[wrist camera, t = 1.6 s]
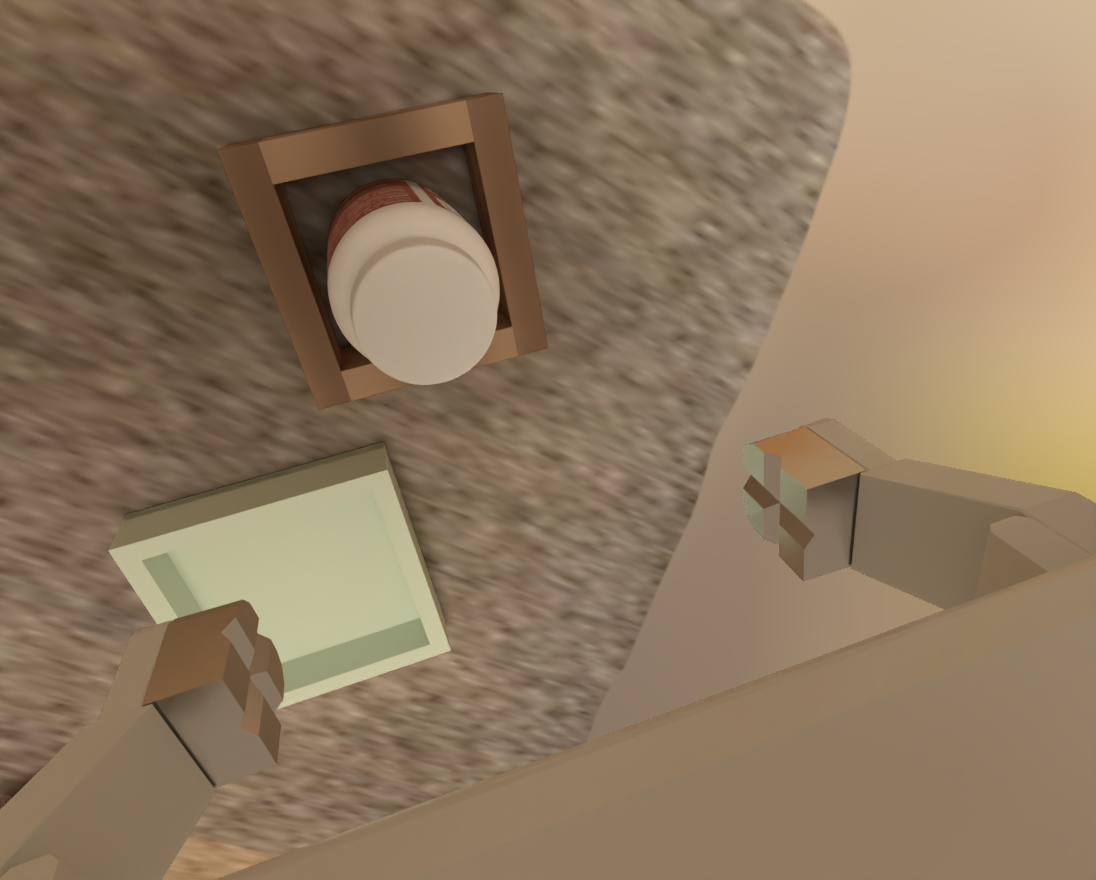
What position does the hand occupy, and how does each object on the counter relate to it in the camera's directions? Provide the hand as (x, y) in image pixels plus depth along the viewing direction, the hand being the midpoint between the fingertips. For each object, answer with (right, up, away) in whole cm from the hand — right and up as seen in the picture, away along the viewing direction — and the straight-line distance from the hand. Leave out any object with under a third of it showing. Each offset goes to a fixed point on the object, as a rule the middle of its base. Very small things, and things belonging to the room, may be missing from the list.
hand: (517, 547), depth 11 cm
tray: (-13, -6, +26) cm, 30 cm away
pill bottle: (-6, +11, +20) cm, 24 cm away
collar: (-6, +11, +20) cm, 23 cm away
